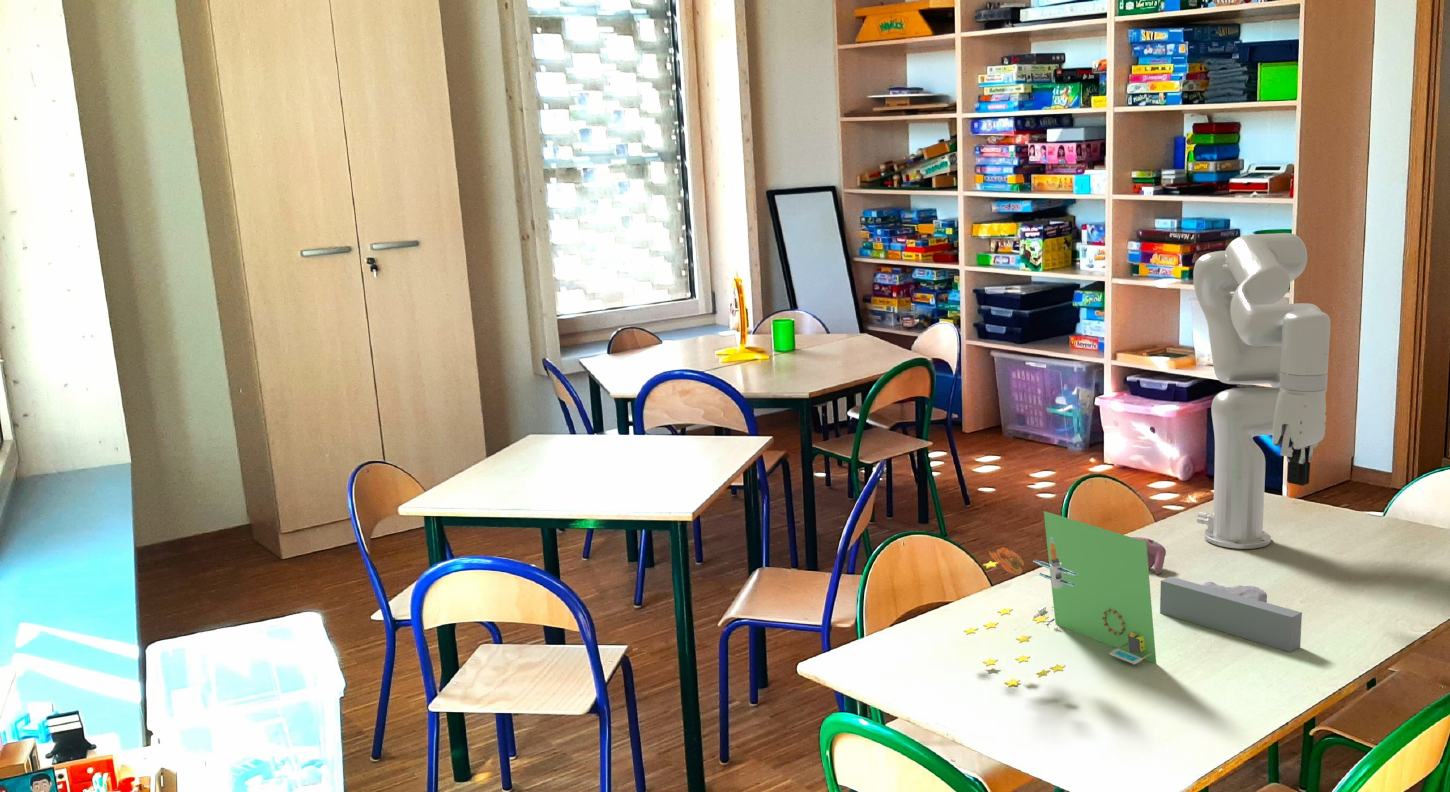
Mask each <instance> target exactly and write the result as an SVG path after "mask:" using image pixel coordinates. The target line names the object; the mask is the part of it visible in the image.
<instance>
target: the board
mask: <svg viewBox="0 0 1450 792" xmlns="http://www.w3.org/2000/svg"><path fill="white" fill-rule="evenodd" d="M1159 593H1160V596H1159V597H1160V599H1159V600H1160V601H1159V602H1160V603H1159V604H1160V605H1159V606H1160V607H1159V613H1160V614H1163V615H1165V616H1168V617H1173V618H1175V619H1180V620H1182V621H1185V622H1186V621H1187V622H1189V623H1193V624H1196V625H1200V626H1202V627H1206V628H1209V629H1212V630H1216V631H1219V632H1222V633H1225V634H1228V635H1233V636H1235V637H1239V638H1242V639H1245V640H1249V641H1252V642H1256V643H1259V644H1262V645H1266V646H1269V647H1272V648H1275V649H1278V650H1282V651H1285V652H1289V653H1292V652H1294V651H1296V650H1298V649H1299V648H1301V642H1302V641H1301V640H1302V639H1301V637H1302V621H1303V619H1302V618H1303V615H1302V614H1303V612H1302V611H1298V610H1294V609H1290V608H1287V607H1283V606H1280V605H1275V604H1273V603H1269V602H1267V603H1266V602H1262V601H1258V600H1255V599H1251V598H1247V597H1244V596H1240V595H1236V594H1233V593H1229V592H1225V591H1222V590H1218V589H1214V588H1211V587H1207V586H1203V585H1202V584H1199V583H1195V582H1191V581H1188V580H1185V579H1181V578H1177V577H1174V576H1168V577H1167V578H1163V579H1161V580H1160V592H1159Z"/></svg>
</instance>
